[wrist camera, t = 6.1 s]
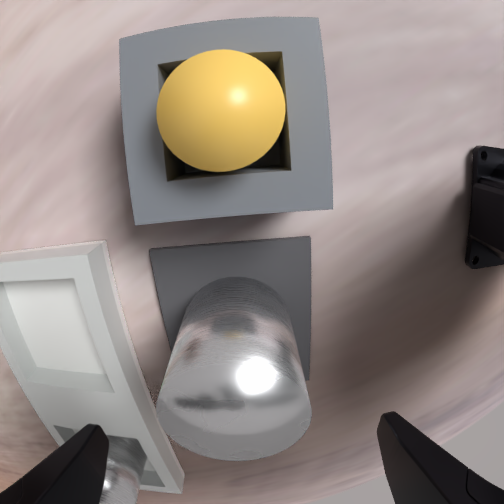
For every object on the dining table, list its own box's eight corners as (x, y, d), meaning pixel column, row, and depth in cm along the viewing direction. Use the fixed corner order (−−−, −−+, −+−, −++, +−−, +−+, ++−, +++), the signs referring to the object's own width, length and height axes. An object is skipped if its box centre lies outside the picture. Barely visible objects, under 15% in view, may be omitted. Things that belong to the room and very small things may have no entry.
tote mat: (309, 236, 14) (310, 238, 13) (308, 376, 16) (309, 380, 16) (151, 248, 14) (149, 250, 13) (182, 384, 16) (181, 387, 16)
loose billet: (288, 272, 14) (315, 357, 8) (290, 361, 15) (308, 455, 10) (176, 280, 14) (137, 365, 8) (194, 367, 15) (175, 460, 10)
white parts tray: (105, 240, 13) (87, 254, 12) (184, 474, 20) (182, 493, 18) (-10, 253, 14) (-31, 266, 12) (91, 462, 20) (85, 478, 18)
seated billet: (135, 427, 17) (112, 501, 11) (156, 466, 19) (142, 530, 13) (73, 419, 17) (43, 481, 11) (99, 458, 19) (79, 515, 13)
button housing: (297, 52, 11) (318, 17, 7) (308, 190, 13) (333, 209, 9) (154, 66, 11) (119, 39, 7) (166, 201, 13) (135, 225, 9)
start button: (268, 77, 10) (279, 45, 7) (275, 159, 11) (289, 166, 8) (182, 85, 10) (153, 59, 7) (189, 167, 11) (162, 178, 8)
